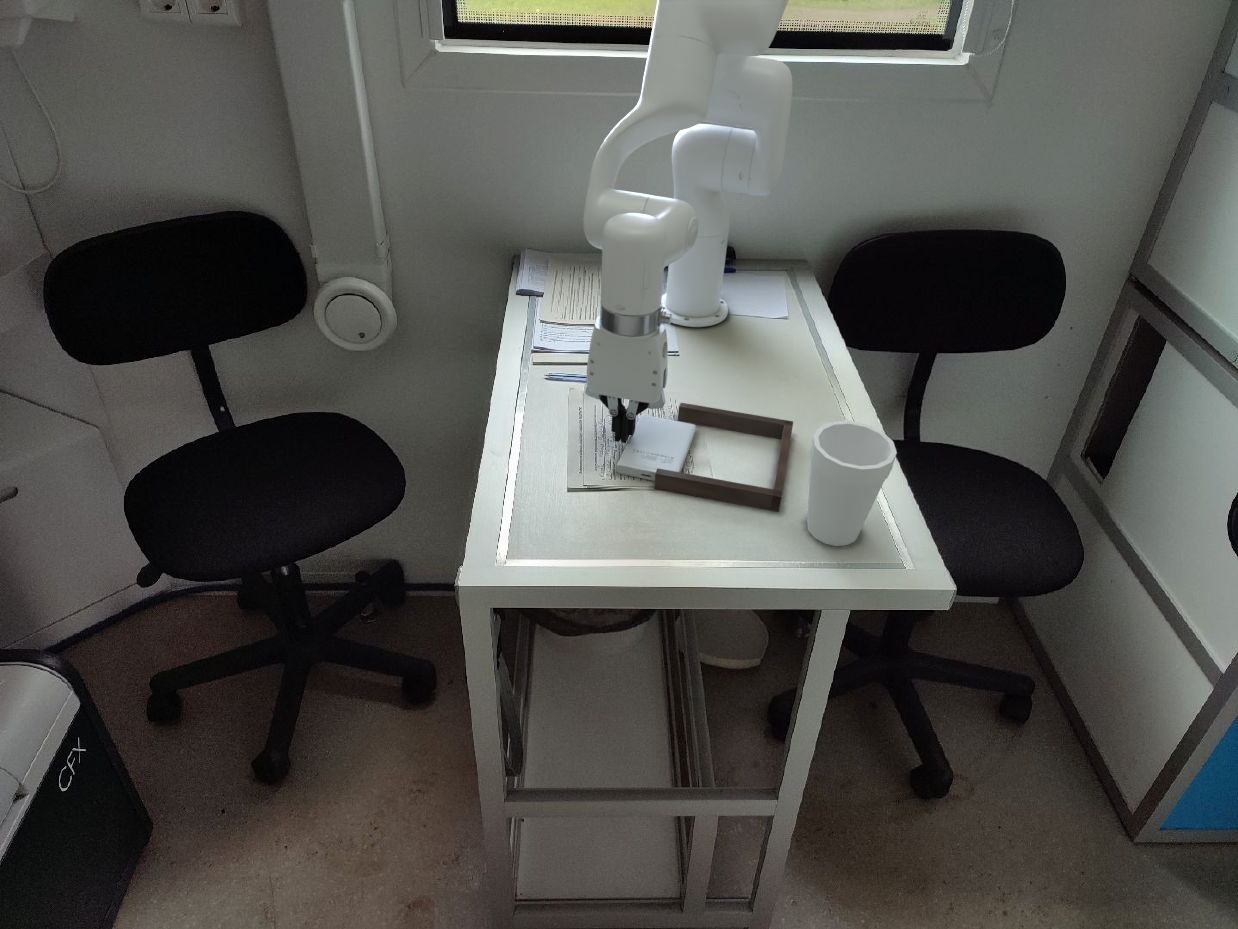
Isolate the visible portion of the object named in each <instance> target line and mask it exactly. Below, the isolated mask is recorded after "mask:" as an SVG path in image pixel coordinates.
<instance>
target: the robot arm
mask: <svg viewBox="0 0 1238 929" xmlns="http://www.w3.org/2000/svg"><path fill="white" fill-rule="evenodd" d="M788 3H789V0H657V1H656V6H655V13H654V17H653V23H652V30H651V35H650V40H649V46H648V51H647V57H646V63H645V67H644V68H645V69H644V72H643V79H642V83H641V84H642V86H641V91H640V97H639V99H638V101H637V104H636V105H635V107H634V108H632V110H630V112H629V113H627V114H626V115H625V116H624V117H623V118H621V120H620V121H619V122H618V123H617V124H616V125H614V127H613V128H612V129H611V131H609V133H608V135H606V137H605V138H604V140H603V142H602V143H601V145H600V147H599V148H598V150H597V152H596V155H595V157H594V159H593V162H592V165H591V169H590V174H589V177H588V178H589V179H588V185H587V190H586V196H585V201H584V207H583V216H582V217H583V218H582V225H583V226H582V227H583V233H584V237H585V239H586V240H587V243H589V244H590V245H591V246H592V247H594V248H596V249H599V250H601V275H600V276H601V279H600V302H599V316H597V317H596V319H595V322H594V325H593V328H592V332H591V333H592V334H591V338H590V343H589V350H588V356H587V366H586V375H585V376H586V377H585V378H586V379H585V381H586V388H585V395H586V396H588V397H591V398H593V399H596V400H599V401H600V402H601V403H602V404H603V405H604V407H606V408H607V409H608V413H609V415H610V416H611V427H610V428H611V429H610V430H611V433H614V442H616V443H619V442H621V443H622V444H627V442H628V440H629V438H630V436H631V435H632V436H633V434H634V432H635V426H636V423H637V416H638V415H641V414H642V413H643V412H644V411H646V410H647V409H649V410H658V409H663V408H664V406H665V403H666V398H665V396H666V395H665V390H664V389H666V386H667V381H668V370H669V369H668V366H669V365H668V364H669V363H668V361H669V350H668V349H669V346H668V333H667V327H666V325H665V324H667V325H671V324H674V325H677V326H682V327H687V328H688V327H689V328H705V327H707V328H708V327H712V326H715V325H717V324H720V323H721V322H723V321H724V320H726V318H727V317H728V315H729V306H728V303H727V302H726V301H725V300H724V299H723V298H721V297H722V290H723V281H724V273H725V265H726V257H727V248H728V242H729V233H730V226H731V214H730V213H731V212H730V208H729V206H728V204H727V202H726V199H725V198H724V195H723V194H722V193H724V192H725V193H730V194H737V195H738V194H739V195H744V196H754V197H766V196H770V195H772V194H773V193H774V192H775V191H776V190H777V189H778V186H779V185H780V182H781V178H782V175H783V170H784V165H785V156H786V149H787V142H788V135H789V134H788V132H789V126H790V119H791V118H790V117H791V110H792V101H793V89H794V88H793V87H794V86H793V76H792V72H791V69H790V68H789V67H788V65H787V64H786V63H784V62H782V61H781V60H778V59H775V58H768V57H767V58H766V57H760V56H761V55H763V54H764V53H766V51H767V50H768V49H769V48H770V46H771V44H772V42H773V41H774V38H775V36H776V34H777V31H778V29H779V26H780V24H781V21H782V18H783V15H784V13H785V10H786V8H787V6H788ZM702 122H705V123H702ZM711 123H712V124H711ZM717 124H718V125H717ZM737 127H740V128H737ZM744 128H745V129H744ZM746 128H748V129H746ZM674 133H677V134H676V135H675V137H674V139H673V143H672V147H671V168H672V180H673V181H672V182H673V198H672V197H666V196H658V195H653V194H647V193H641V192H635V191H634V192H633V191H627V190H621V189H615V186H616V182H617V178H618V175H619V172H620V169H621V167H622V166H623V164H624V163H625V161H626V160H627V159H628V157H630V156H631V154H632V153H634V152H635V151H636V150H638V149H639V148H641V147H642V146H644V145H646V144H647V143H648V144H649V142H651V141H654V140H656V139H659V138H662V137H664V136H667V135H671V134H674ZM666 267H667V281H666V292H665V293H664V294H663V286H664V273H665V272H664V271H665V268H666ZM623 400H628V401H629V402H628V406H627V408H626V405H624V401H623Z"/></svg>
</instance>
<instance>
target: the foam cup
mask: <svg viewBox="0 0 1238 929" xmlns="http://www.w3.org/2000/svg"><path fill="white" fill-rule="evenodd" d="M897 454H898V452H897V448H896V446H895V442H894V441H893V440H892V439H891V438H890V437H889V436H888V435H886V434H885V432H883V431H882V430H881V429H878V428H875V427H873V426H872V425H869V424H866V423H863V422H856V421H852V420H839V421H838V420H837V421H830V422H828V423H825V424H824V425H821V426H819V427H818V428H817V430H816V431H815V432H814V434H813V435H812V439H811V444H810V448H809V458H810V464H809V465H810V468H809V483H808V498H807V499H808V500H807V516H806V520H807V521H806V524H807V525H806V526H807V530H808V532H809V533H810V534H811V536H812V537H813V538H814V539H816V540H817V541H819V542H821V543H823V544H824V545H825V544H826V545H829V546H834V547H840V546H842V547H843V546H849V545H851V544H853V543H855V542H856V540H857V539H858V537H859V534H860V533H861V530H862V529H863V526H864V524H865V523H866V520H867V519H868V516H869V513H870V511H871V509H872V508H873V506H874V504H875V502H876V499H877V498H878V495H879V494H880V491H881V489H882V487H883V484H884V482H885V481H886V480H887V479H888V478H889V476H890V474H891V471H892V470H893V467H894V463H895V460H896V457H897Z"/></svg>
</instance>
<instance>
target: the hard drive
mask: <svg viewBox="0 0 1238 929" xmlns="http://www.w3.org/2000/svg"><path fill="white" fill-rule="evenodd" d="M696 431H697V424H693V423H687V422H682V421H678V420H673V419H669V418H664V417H658V416H654V415H653V416H652V415H648V414H639V417H638V419H637V420H636V424H635V432H634V434H633V436H632V435H629V438H628V440H627V442H626V445H625V446H624V449H623V451H622V453H621V455H620V457H619V460H618V461H617V464H616V466H615V467H616V468H615V469H616V471H615V472H616V473H617V474H620V475H624V476H628V477H633V478H638V479H642V480H648V481H652V482H655V473H656V470H657V468H659V469H664V470H670V471H675V472H681V473H682V469H683V467H684V465H685V462H686V460H687V457H688V453H689V450H690V448H691V445H692V442H693V440H694V437H695V435H696Z"/></svg>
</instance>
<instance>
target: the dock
mask: <svg viewBox="0 0 1238 929" xmlns="http://www.w3.org/2000/svg"><path fill="white" fill-rule="evenodd" d="M677 421H679V422H684V423H689V424H694V425H700V426H706V427H710V428H718V429H721V430H728V431H734V432H741V433H746V434H752V435H757V436H763V437H768V438H769V437H770V438H776V439H780V444H779V450H778V457H777V463H776V469H775V474H774V481H773V488H767V487H763V486H757V485H753V484H752V485H751V484H746V483H741V482H736V481H730V480H724V479H718V478H713V477H708V476H702V475H697V474H692V473H685V472H682V471H681V472H675V471H670V470H664V469H659V468H657V470H656V473H655V481H654V485H653V486H654V487H653V489H654V490H660V491H666V492H671V493H676V494H681V495H688V496H693V497H698V498H703V499H709V500H714V501H719V502H725V503H729V504H735V505H740V506H746V507H750V508H751V507H752V508H756V509H761V510H768V511H773V512H780V509H781V505H782V504H781V503H782V498H783V492H784V486H785V480H786V472H787V466H788V460H789V452H790V447H791V440H792V434H793V433H792V432H793V427H794V421H792V420H789V419H788V420H787V419H782V418H781V419H780V418H775V417H769V416H764V415H763V416H762V415H757V414H753V413H745V412H741V411H740V412H739V411H733V410H727V409H721V408H717V407H709V406H705V405H704V406H703V405H697V404H692V403H687V402H679V405H678V413H677Z"/></svg>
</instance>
